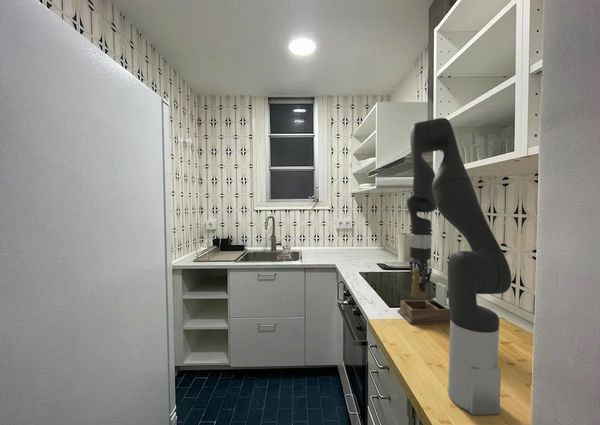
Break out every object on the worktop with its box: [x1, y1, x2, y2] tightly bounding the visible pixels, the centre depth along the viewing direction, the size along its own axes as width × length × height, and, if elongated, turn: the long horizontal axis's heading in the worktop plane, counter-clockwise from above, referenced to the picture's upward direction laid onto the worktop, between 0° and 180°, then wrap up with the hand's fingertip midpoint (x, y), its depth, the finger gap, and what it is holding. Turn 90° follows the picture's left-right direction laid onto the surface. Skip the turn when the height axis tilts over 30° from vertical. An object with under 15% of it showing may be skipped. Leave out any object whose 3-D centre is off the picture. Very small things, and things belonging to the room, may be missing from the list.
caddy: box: [397, 299, 450, 326], centre depth 111 cm, size 12×24×5 cm, turn 93°
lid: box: [432, 282, 449, 309], centre depth 111 cm, size 11×10×8 cm
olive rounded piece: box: [410, 268, 429, 300], centre depth 110 cm, size 6×6×11 cm
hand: (419, 290), depth 110 cm, fingers closed on olive rounded piece, 3 cm apart
